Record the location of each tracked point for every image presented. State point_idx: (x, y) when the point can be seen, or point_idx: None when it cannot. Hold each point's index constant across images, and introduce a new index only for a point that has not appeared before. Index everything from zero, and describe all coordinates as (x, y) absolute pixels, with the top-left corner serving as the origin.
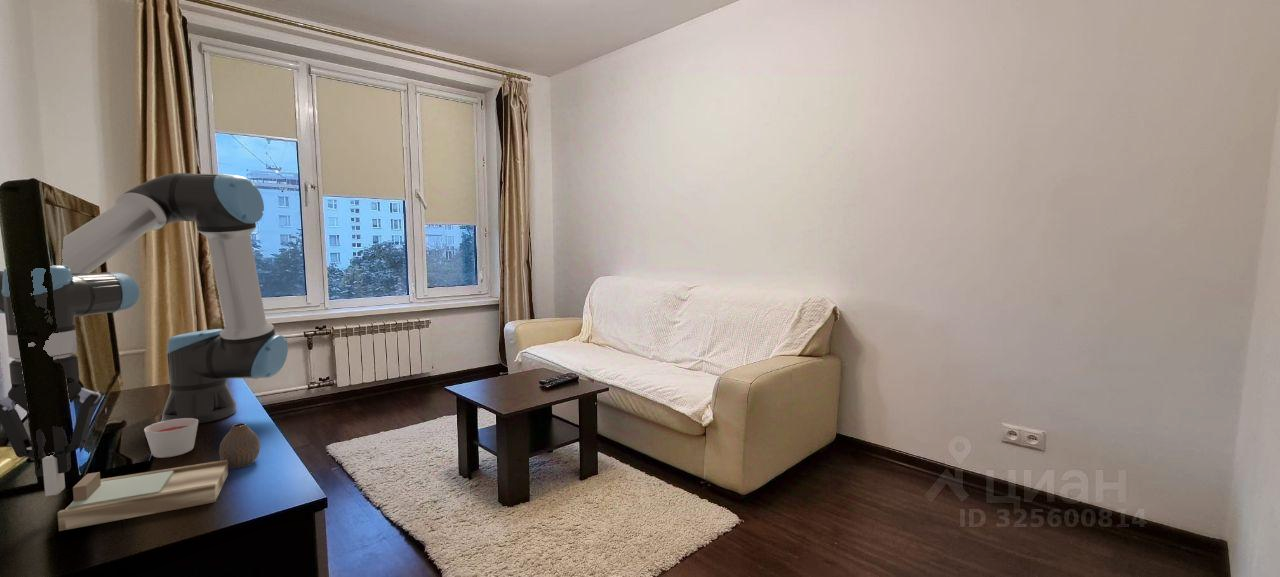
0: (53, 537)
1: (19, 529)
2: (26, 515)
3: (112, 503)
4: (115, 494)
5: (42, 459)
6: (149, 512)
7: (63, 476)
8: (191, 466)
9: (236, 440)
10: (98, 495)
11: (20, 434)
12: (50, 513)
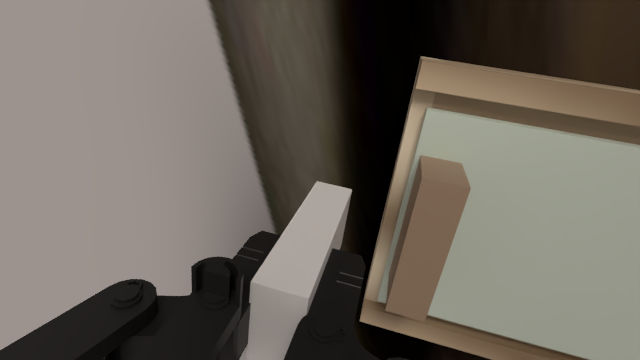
0: (361, 308)
1: (282, 206)
2: (269, 107)
3: (489, 357)
4: (503, 299)
5: (247, 358)
6: None
7: (341, 220)
8: None
9: None
10: (454, 271)
11: None
12: (325, 136)
